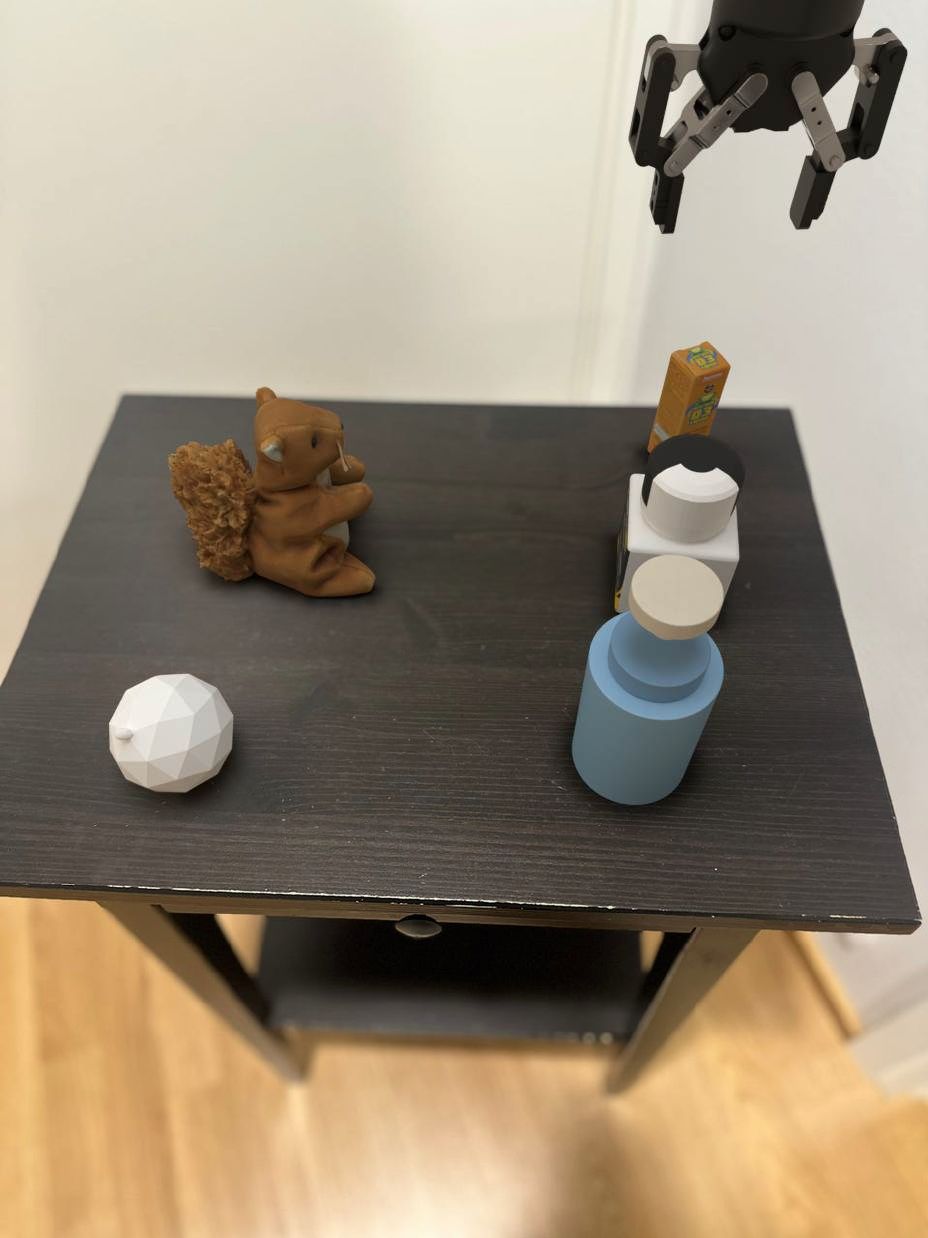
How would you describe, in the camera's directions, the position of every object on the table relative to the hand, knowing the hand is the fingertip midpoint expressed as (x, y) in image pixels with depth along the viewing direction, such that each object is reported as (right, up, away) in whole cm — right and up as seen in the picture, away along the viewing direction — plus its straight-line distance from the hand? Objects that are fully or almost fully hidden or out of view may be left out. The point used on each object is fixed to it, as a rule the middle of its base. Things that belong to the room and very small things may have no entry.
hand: (731, 225), depth 55 cm
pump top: (-7, -25, -11) cm, 28 cm away
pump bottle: (-7, -33, 0) cm, 34 cm away
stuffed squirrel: (-30, -20, +10) cm, 38 cm away
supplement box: (0, -12, +16) cm, 20 cm away
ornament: (-35, -34, 0) cm, 48 cm away
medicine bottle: (-2, -22, +8) cm, 24 cm away
